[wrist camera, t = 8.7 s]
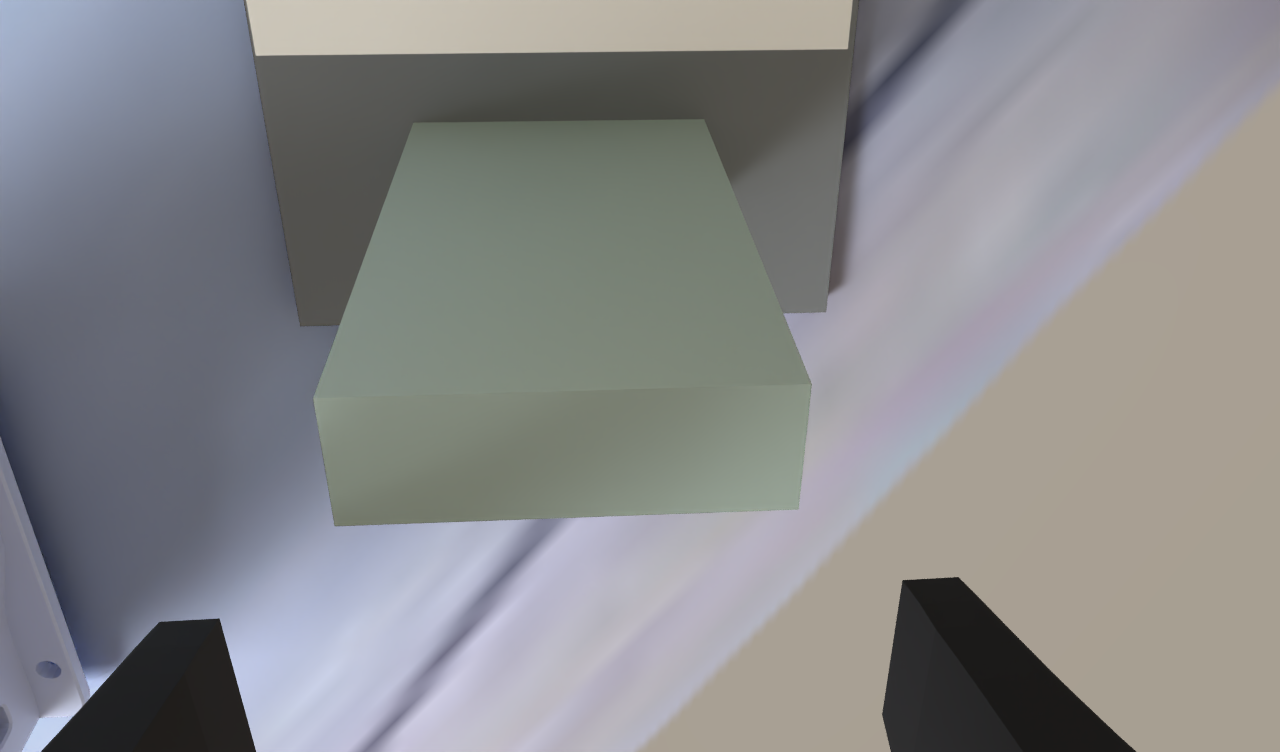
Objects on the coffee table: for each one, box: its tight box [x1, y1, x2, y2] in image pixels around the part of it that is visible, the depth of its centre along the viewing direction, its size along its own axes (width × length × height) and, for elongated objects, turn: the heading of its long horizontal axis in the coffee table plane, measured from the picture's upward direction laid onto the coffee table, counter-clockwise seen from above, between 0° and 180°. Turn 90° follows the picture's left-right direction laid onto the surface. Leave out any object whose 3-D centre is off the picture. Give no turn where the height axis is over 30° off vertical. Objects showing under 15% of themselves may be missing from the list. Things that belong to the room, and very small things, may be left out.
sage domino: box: [313, 119, 812, 526], centre depth 15 cm, size 2×5×9 cm, turn 89°
